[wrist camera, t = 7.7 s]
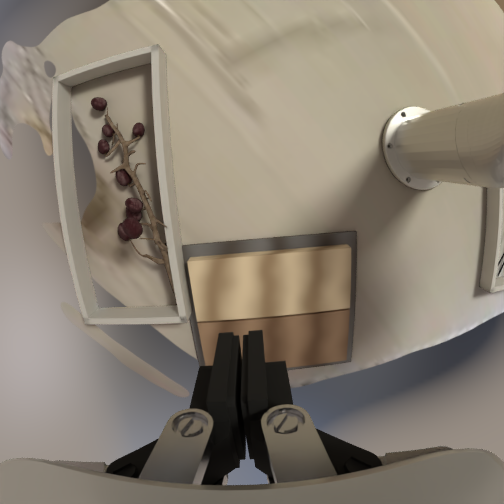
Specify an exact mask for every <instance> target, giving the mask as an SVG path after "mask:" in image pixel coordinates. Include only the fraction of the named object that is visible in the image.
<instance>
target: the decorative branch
mask: <svg viewBox="0 0 504 504" xmlns="http://www.w3.org/2000/svg"><path fill="white" fill-rule="evenodd" d="M91 105H92V107H93V108H94V109H96V110H99V111H102V110H104V109H105V108H106V106H107V102H106V100H105V99H103V98H98V97H97V98H94V99H92V101H91ZM105 117H106V119H107V121H108V123H109V125H108V124H107V125H104V126H103V128H102V132H103V134H104V135H105V136H107V137H112V136H113V142H112V145H113V143H114V137H115V135H117V136H118V138H119V139H118V141H117V143H116V144H115V145H114V147H113V148H112V149H111V150H110V151H109V149H110V147H109V144H108V142H107V141H106V140H104V139H102V140H100V141H99V143H98V150H99V152H100V153H101V154H106V156H105V157H107V156H109V155H110V154H111V153H112V152H113V151H114V150H115V149H116V148H117V147H118V145H119V144H120V143H121V144H122V147H123V152H124V158H123V160H122V163H123V162H124V163H123V164H122V165H121V166H119V167H117V168H116V169H114V170H113V171H112V172H111V173H113V172H116V179H117V181H118V183H119V184H120V185H122V186H127V185H129V184H130V183H131V182H132V180H133V183H132V184H131V185H129V187H132V186H134V185H136V187H137V189H138V192H139V194H140V197H141V199H142V201H143V203H142V201H141V200H139V199H137V198H128V199H127V200H126V201H125V205H126V215H127V219H125V220H124V221H123V223H120V224H119V226H118V234H119V236H120V238H121V239H123V240H124V241H128V240H130V239H131V238H132V239H136V238H139V237H141V236H140V235H141V234H142V232H143V228H142V226H141V225H147V226H149V227H150V228H151V229H152V231H153V239H151V238H139V239H148V240H154V243H155V244H156V243H157V244H156V245H158V247H159V249H160V250H161V253H162V256H163V259H158V258H154V257H152V256H149V255H147V254H146V255H141V254H140V253H139V252H138V251H137V249H136V248H135V246H134V245H133V243H132V241H131V240H130V241H131V243H132V245H133V247H134V248H135V250H136V251H137V252H138V253H139V254H140V255H141V256H143V257H147V258H149V259H151V260H152V261H154V262H155V263H157V264H165V267H166V271H167V274H168V277H169V280H170V284H171V287H172V290H173V293H174V294H175V291H174V285H173V280H172V274H171V268H170V262H169V255H168V247H167V243H164V244H163V243H162V241H161V239H160V236H159V232H158V228H157V223H159V224H161V225H163V226H165V227H166V228H168V227H167V226H166V225H164V224H163V223H162V222H161V221H159V220H158V219H156V218H155V217H154V215H153V212H152V210H151V207H150V205H149V203H148V200H147V199H150V201H151V202H152V200H151V198H150V196H149V194H148V193H147V191H146V190H145V191H144V190H143V188H142V186H141V184H140V182H139V180H138V178H137V176H136V174H135V173H136V169H137V166H138V165H140V164H145V163H138V164H136V166H135V169H134V171H132V170H131V169H130V166H129V156H130V155H131V154H132V153H135V150H132V151H130V152H129V153H128V150H127V148H128V146H129V145H130V144H131V143H133V142H134V141H136V140H138V139H139V138H140V137H141V136H143V134H144V132H145V129H144V126H143V124H142V123H136V124H135V125H134V127H133V134H134V136H135V137H137V138H135V139H132V140H130V141H125V140H124V139H123V137H122V135H121V133H120V132H119V130H118V124H117V128H116V127H115V125H114V124H113V123H112V121H111V119H110V117H109V116H108V108H107V115H105ZM145 192H146V194H147V196H148V197H149V198H146V195H145ZM143 204H144V209H143ZM142 209H143V210H147V213H148V216H149V219H150V221H151V224H149V223H139V221H140V220H141V218H142V214H141V210H142ZM165 245H166V246H165Z"/></svg>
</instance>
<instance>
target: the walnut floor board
mask: <svg viewBox="0 0 504 504" xmlns="http://www.w3.org/2000/svg"><path fill="white" fill-rule="evenodd" d="M343 244H347V245H349V246H350V247H351V293H350V308H346V309H338V310H330V311H322V312H313V313H303V314H293V315H283V316H272V317H260V318H247V319H233V320H218V321H199V322H197V318H196V312H195V307H194V301H193V295H192V289H191V282H190V276H189V270H188V263H187V261H188V260H189V258H190V257H200V256H212V255H224V254H236V253H248V252H260V251H272V250H284V249H296V248H308V247H319V246H331V245H343ZM182 252H183V259H184V266H185V272H186V279H187V285H188V291H189V297H190V303H191V309H192V313H191V315H190V321H191V326H192V332H193V337H194V342H195V347H196V352H197V357H198V361H199V366H211V365H213V361H214V356H215V350H216V345H217V340H218V334H219V333H224V332H233V333H234V336H235V335H239V339H240V346H241V354H242V350H243V335H248V331H254V330H263V342H264V354H265V362H275V361H286V366H287V370H293V369H302V368H310V367H318V366H325V365H332V364H339V363H346V362H351V356H352V345H353V332H354V316H355V297H356V258H357V232H356V231H350V232H337V233H324V234H311V235H298V236H285V237H273V238H261V239H249V240H237V241H226V242H214V243H203V244H192V245H182Z"/></svg>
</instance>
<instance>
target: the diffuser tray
mask: <svg viewBox="0 0 504 504" xmlns="http://www.w3.org/2000/svg"><path fill="white" fill-rule="evenodd" d="M502 217H503V188H487V217H486V234H485V246H484V256H483V264H482V272H481V279H480V285H479V287H481V288H483V289H484V290H486V291H487V292H489V293H493V292H497V291H501V290H504V276H503V277H499V278H496V275H497V268H498V261H499V253H500V244H501V232H502Z"/></svg>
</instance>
